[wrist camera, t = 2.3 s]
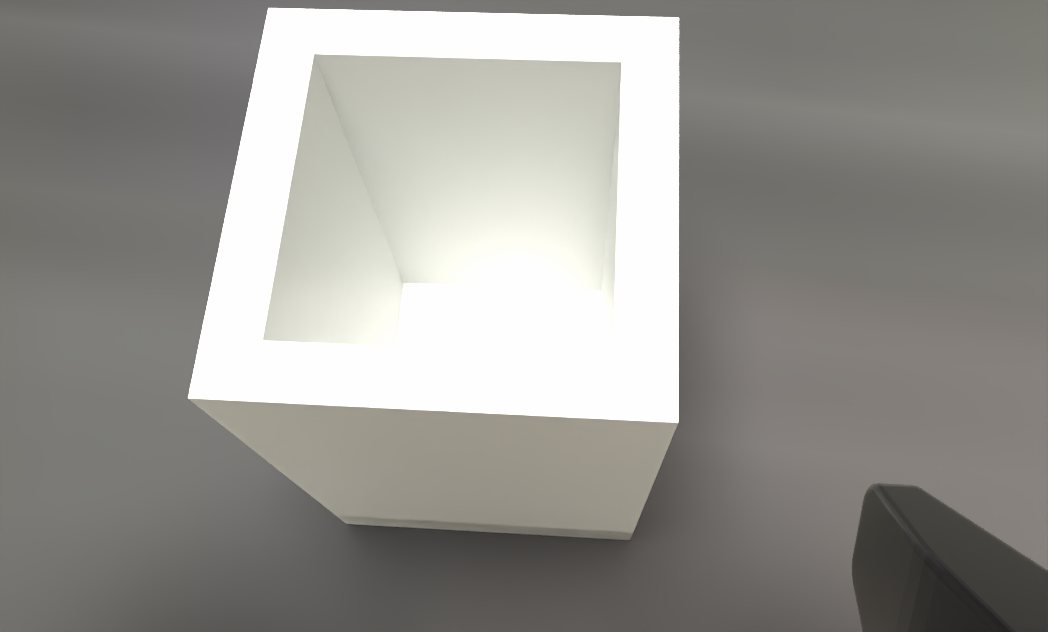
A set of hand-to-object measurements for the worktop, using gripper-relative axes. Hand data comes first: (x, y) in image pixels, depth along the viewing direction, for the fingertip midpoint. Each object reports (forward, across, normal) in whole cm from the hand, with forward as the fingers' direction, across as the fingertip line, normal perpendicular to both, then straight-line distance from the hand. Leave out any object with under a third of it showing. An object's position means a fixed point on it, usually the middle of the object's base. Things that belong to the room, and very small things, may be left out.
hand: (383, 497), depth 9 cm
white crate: (+11, 0, +5) cm, 12 cm away
